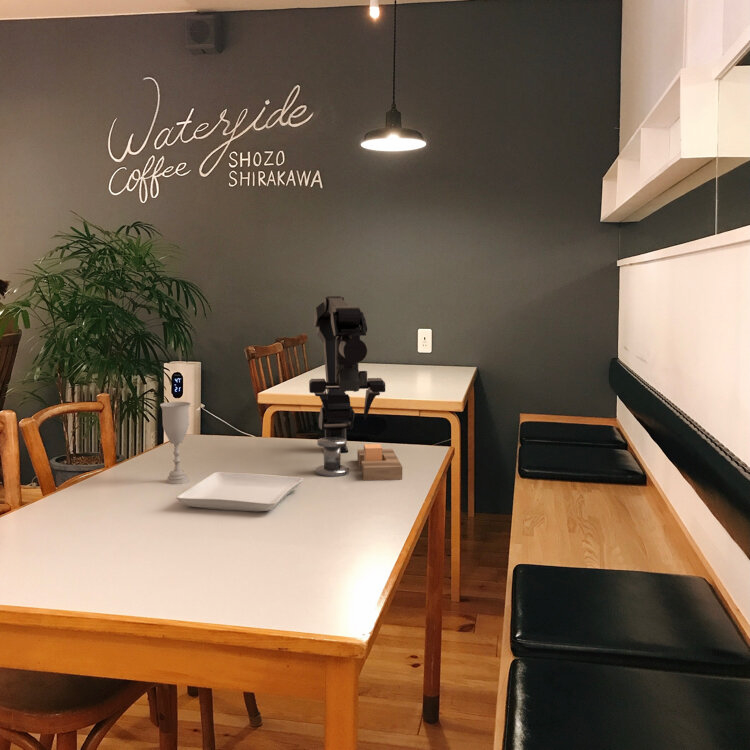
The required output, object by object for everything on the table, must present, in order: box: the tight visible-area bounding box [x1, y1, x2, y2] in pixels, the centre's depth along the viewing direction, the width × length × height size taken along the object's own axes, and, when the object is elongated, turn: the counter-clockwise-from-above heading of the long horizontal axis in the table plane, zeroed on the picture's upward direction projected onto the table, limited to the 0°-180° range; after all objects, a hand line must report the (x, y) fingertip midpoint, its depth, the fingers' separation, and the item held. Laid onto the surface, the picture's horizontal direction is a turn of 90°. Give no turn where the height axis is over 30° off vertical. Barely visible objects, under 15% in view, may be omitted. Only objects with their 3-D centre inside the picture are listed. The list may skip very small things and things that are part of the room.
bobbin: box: [315, 437, 350, 478], centre depth 197 cm, size 8×8×8 cm
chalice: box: [159, 401, 191, 485], centre depth 188 cm, size 7×7×18 cm
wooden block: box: [363, 443, 383, 461], centre depth 200 cm, size 5×4×6 cm
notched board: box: [356, 448, 403, 481], centre depth 200 cm, size 20×9×3 cm, turn 6°
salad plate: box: [176, 471, 304, 513], centre depth 174 cm, size 21×21×3 cm
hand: (346, 419), depth 205 cm, fingers open, 9 cm apart
